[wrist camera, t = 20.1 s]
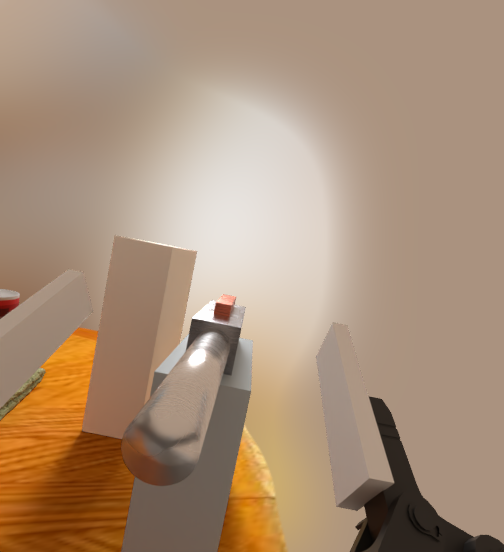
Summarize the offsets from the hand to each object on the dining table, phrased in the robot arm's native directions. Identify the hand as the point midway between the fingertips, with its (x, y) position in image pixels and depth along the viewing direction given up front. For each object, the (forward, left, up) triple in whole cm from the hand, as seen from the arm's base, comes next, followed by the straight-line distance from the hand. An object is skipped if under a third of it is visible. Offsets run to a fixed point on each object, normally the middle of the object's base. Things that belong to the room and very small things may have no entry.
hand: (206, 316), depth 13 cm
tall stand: (-13, +27, -25) cm, 39 cm away
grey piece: (0, +8, -7) cm, 11 cm away
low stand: (0, +13, -25) cm, 28 cm away
